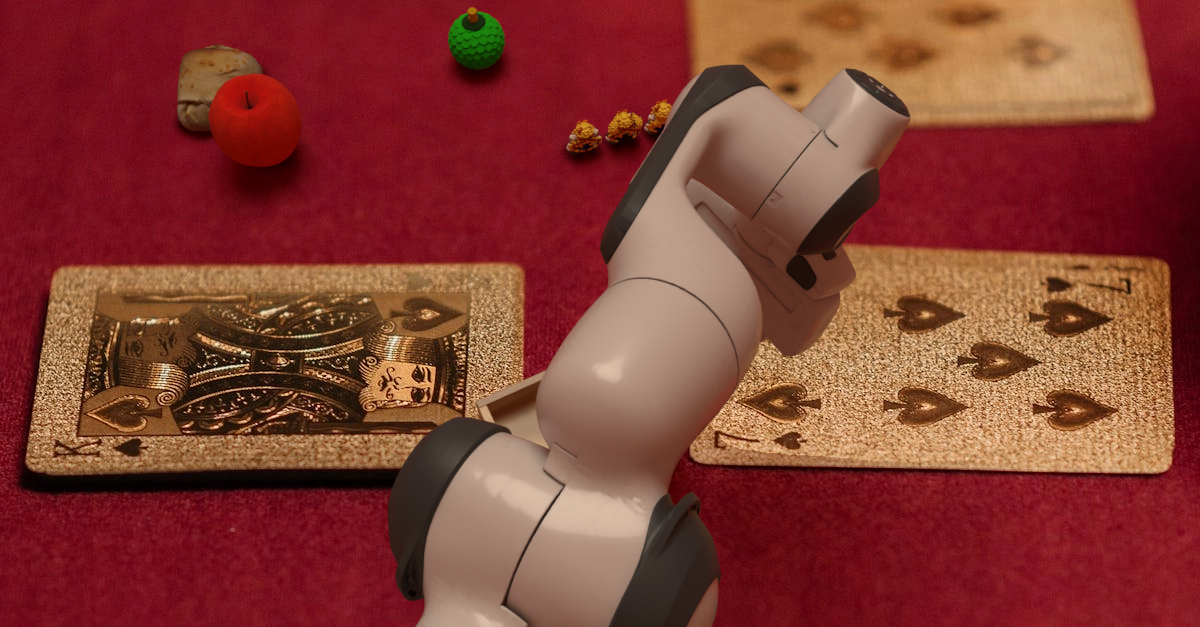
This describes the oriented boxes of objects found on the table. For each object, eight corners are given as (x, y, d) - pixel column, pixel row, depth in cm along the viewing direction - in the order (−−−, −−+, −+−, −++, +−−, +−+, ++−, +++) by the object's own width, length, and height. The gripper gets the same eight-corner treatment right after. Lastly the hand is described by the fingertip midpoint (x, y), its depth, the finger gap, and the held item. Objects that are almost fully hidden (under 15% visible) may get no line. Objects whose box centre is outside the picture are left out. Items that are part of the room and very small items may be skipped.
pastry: (244, 50, 161) (227, 11, 154) (287, 101, 156) (272, 62, 149) (158, 97, 157) (137, 58, 150) (200, 150, 152) (180, 113, 145)
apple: (257, 205, 147) (227, 143, 136) (212, 153, 152) (178, 89, 140) (330, 158, 151) (306, 94, 140) (283, 109, 156) (256, 43, 144)
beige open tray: (623, 447, 104) (623, 432, 101) (517, 497, 102) (514, 483, 98) (582, 371, 108) (581, 354, 105) (479, 417, 106) (475, 401, 102)
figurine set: (683, 138, 152) (685, 108, 147) (571, 168, 150) (569, 138, 144) (674, 120, 154) (677, 89, 148) (564, 149, 152) (562, 119, 146)
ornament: (512, 75, 158) (506, 25, 150) (458, 86, 157) (449, 37, 149) (500, 35, 162) (494, -16, 153) (447, 46, 161) (437, -4, 152)
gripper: (689, 150, 104) (623, 250, 112) (836, 302, 97) (754, 397, 106) (726, 143, 109) (659, 240, 117) (869, 287, 102) (787, 379, 110)
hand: (705, 315), depth 111 cm, fingers open, 8 cm apart
